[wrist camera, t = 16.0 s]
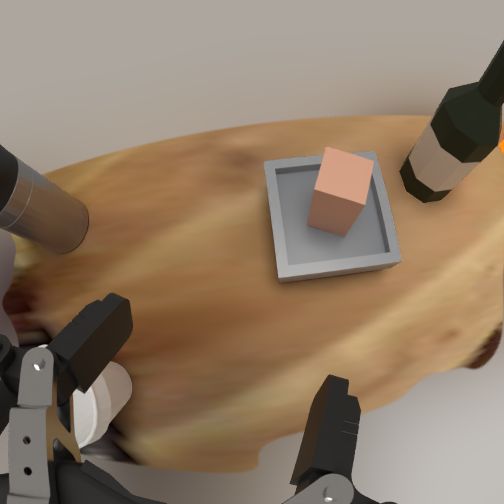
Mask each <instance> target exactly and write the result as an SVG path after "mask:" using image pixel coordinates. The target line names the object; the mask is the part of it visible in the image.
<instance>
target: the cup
mask: <svg viewBox="0 0 504 504" xmlns="http://www.w3.org/2000/svg"><path fill="white" fill-rule="evenodd" d="M46 346H47V345H41V346H39V347H43V348H45V347H46ZM131 395H132V381H131V379H130V376H129V374H128V373H127V371H126V370H125V369H124V368H123V367H122V366H121V365H119V364H118V363H115V362H112V361H110V362H109V364H108V365H107V366H106V367H105V369H104V370H103V371H102V372H101V374H100V375H99V376H98V378H97V379H96V380H95V381H94V383H93V384H92V385H91V387H90V388H89V389H88V391H87V392H86V393H85V394H84V393H82V392H81V391H79V390H77V389H76V390H75V391H74V393H73V408H74V428H75V437H76V441H77V443H78V446H79V449H80V448H82V447H84V446H85V445H87V444H90V443H93V442H94V441H96V440H98V439H100V438H101V437H102V436H103V434H104V433H105V432H106V431H107V428H108V425H109V423H110V422H111V421H112V419H113V418H114V417H115V416H116V415H117V414H118V412H119V411H120V410H121V409H122V408H123V406H124V405H125V404H126V403H127V402H128V400H129V399H130V397H131Z"/></svg>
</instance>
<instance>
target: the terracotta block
mask: <svg viewBox="0 0 504 504" xmlns="http://www.w3.org/2000/svg"><path fill="white" fill-rule="evenodd" d="M373 164H374V161H372V160H369V159H366V158H363V157H360V156H357V155H354V154H350V153H347V152H344V151H340V150H337V149H334V148H330V147H327V146H326V149H325V153H324V156H323V160H322V164H321V167H320V171H319V174H318V178H317V181H316V185H315V188H314V192H313V197H312V202H311V207H310V212H309V217H308V222H307V226H310V227H314V228H317V229H320V230H323V231H327V232H330V233H333V234H336V235H340V236H343V237H345V236H346V234H347V233H348V231H349V230H350V228H351V227H352V225H353V224H354V222H355V220H356V219H357V217H358V216H359V214H360V213H361V211H362V209H363V208H364V206H365V204H366V199H367V194H368V190H369V185H370V180H371V175H372V170H373Z"/></svg>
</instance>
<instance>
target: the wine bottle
mask: <svg viewBox="0 0 504 504" xmlns="http://www.w3.org/2000/svg"><path fill="white" fill-rule="evenodd" d="M503 103H504V41H503V43H502V44H501V46H500V48H499V49H498V51H497V53H496V55H495V56H494V58H493V59H492V61H491V63H490V64H489V66H488V68H487V69H486V71H485V72H484V74H483V76H482V77H481V79H480V80H479V82H475V83H471V84H467V85H463V86H458V87H454V88H450V89H449V90H448V91H447V93H446V95H445V96H444V98H443V100H442V102H441V103H440V105H439V107H438V108H437V110H436V112H435V113H434V115H433V117H432V118H431V120H430V122H429V123H428V125H427V127H426V128H425V130H424V131H423V133H422V135H421V136H420V138H419V139H418V141H417V143H416V144H415V146H414V147H413V149H412V150H411V152H410V154H409V155H408V157H407V158H406V160H405V162H404V164H403V166H402V168H401V170H400V174H401V177H402V179H403V182H404V185H405V188H406V191H408V192H409V193H410V194H412V195H413V196H415V197H416V198H418V199H419V200H420V201H422V202H423V203H426V202H432V201H438V200H441V199H442V198H443V197H445V196H446V195H447V194H448V193H449V192H450V191H451V190H452V189H453V188H454V187H455V186H456V185H457V184H459V183H460V182H461V181H462V180H463V179H464V178H465V177H466V176H467V175H468V174H469V173H470V172H471V171H472V170H473V169H474V168H475V167H476V166H477V165H478V164H479V163H480V162H481V161H482V160H483V159H484V158H485V157H486V156H487V155H488V154H489V153H490V152H491V151H492V150H493V149H494V148H495V147H496V146H497V145H498V142H499V138H500V133H501V128H502V104H503Z"/></svg>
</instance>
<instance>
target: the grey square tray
mask: <svg viewBox="0 0 504 504" xmlns="http://www.w3.org/2000/svg"><path fill="white" fill-rule="evenodd" d="M350 154H354V155H357V156H360V157H363V158H366V159H369V160H372V161H374V164H373V170H372V175H371V180H370V185H369V190H368V194H367V199H366V204H365V206H364V208H363V209H362V211H361V213H360V214H359V216H358V217H357V219H356V220H355V222H354V224H353V225H352V227H351V228H350V230H349V231H348V233H347V234H346V236H345V237H343V236H340V235H336V234H333V233H330V232H327V231H323V230H320V229H317V228H314V227H310V226H307V222H308V217H309V212H310V207H311V202H312V197H313V192H314V188H315V185H316V181H317V178H318V174H319V171H320V167H321V164H322V160H323V156H324V155H317V156H307V157H297V158H288V159H279V160H271V161H264V168H265V175H266V182H267V190H268V197H269V205H270V213H271V221H272V229H273V237H274V245H275V253H276V261H277V269H278V278H279V283H283V282H291V281H299V280H307V279H315V278H322V277H330V276H337V275H345V274H352V273H359V272H366V271H373V270H380V269H386V268H391V267H393V266H395V265H396V264H398V263H400V262H401V261H402V260H401V254H400V249H399V244H398V239H397V235H396V230H395V225H394V221H393V217H392V212H391V208H390V204H389V200H388V196H387V192H386V188H385V185H384V181H383V177H382V174H381V170H380V167H379V163H378V160H377V157H376V153H375V151H372V152H355V153H350Z"/></svg>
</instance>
